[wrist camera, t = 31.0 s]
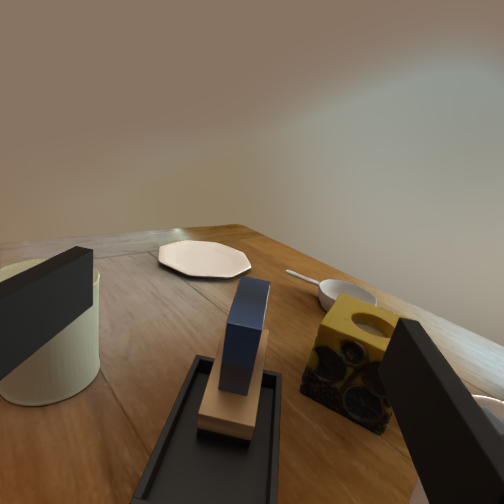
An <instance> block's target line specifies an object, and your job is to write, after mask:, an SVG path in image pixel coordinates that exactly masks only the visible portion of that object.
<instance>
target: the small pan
mask: <svg viewBox="0 0 504 504" xmlns="http://www.w3.org/2000/svg"><path fill="white" fill-rule="evenodd" d="M285 272H286V273H287V274H290V275H292V276H294V277H297V278H299V279H302V280H304V281H307V282H309V283H312V284H314V285H317V286H319V289H318V296H319V299H320V302H321V306H322V307H323V308H324V309H325V310H326V311H327V312H329V310H330V309H331V307H332V306H333V304H334V302H335V300H336V299H337V297H338V295H339V294H340V293H344V294H347V295H349V296H352V297H354V298H357V299H360V300H362V301H365V302H367V303H370V304H372V305H375V306H376V303H377V299H376V298H375V296H374V295H373V294H372V293H370V292H369V291H368V290H366V289H364V288H362V287H360V286H358V285H356V284H353V283H350V282H346V281H341V280H324V281H322V282H321V283H320V282H318V281H315V280H313V279H310V278H308V277H305V276H303V275H300V274H298V273H295V272H293V271H290V270H286V271H285Z"/></svg>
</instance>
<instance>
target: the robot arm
mask: <svg viewBox="0 0 504 504" xmlns="http://www.w3.org/2000/svg"><path fill="white" fill-rule="evenodd" d="M91 306H93V250H92V249H87V248H83V247H78V246H75V247H73V248H71V249H69V250H67V251H65V252H63V253H61V254H58V255H56V256H54V257H52V258H50V259H48V260H46V261H44V262H42V263H40V264H37V265H35V266H33V267H31V268H29V269H27V270H25V271H23V272H21V273H18V274H16V275H14V276H12V277H10V278H8V279H6V280H4V281H2V282H0V381H1V380H2V379H3V378H4V377H6V376H7V375H8V374H9V373H11V372H12V371H13V370H14V369H15V368H17V367H18V366H19V365H20V364H22V363H23V362H24V361H25V360H26V359H28V358H29V357H30V356H31V355H33V354H34V353H35V352H36V351H38V350H39V349H40V348H41V347H42V346H44V345H45V344H46V343H47V342H49V341H50V340H51V339H52V338H53V337H55V336H56V335H57V334H58V333H60V332H61V331H62V330H63V329H65V328H66V327H67V326H68V325H69V324H71V323H72V322H73V321H74V320H76V319H77V318H78V317H79V316H80V315H82V314H83V313H84V312H85V311H87V310H88V309H89V308H90V307H91ZM378 373H379V375H380V378H381V380H382V383H383V386H384V388H385V391H386V393H387V396H388V399H389V401H390V404H391V406H392V409H393V411H394V414H395V417H396V419H397V422H398V424H399V427H400V430H401V432H402V435H403V437H404V440H405V442H406V445H407V448H408V450H409V453H410V455H411V458H412V461H413V463H414V466H415V468H416V471H417V473H418V476H419V479H420V481H421V484H422V486H423V489H424V492H425V494H426V497H427V499H428V502H429V504H504V422H503V421H502V420H501V419H500V418H499V417H498V416H496V415H495V414H494V413H493V412H492V411H491V410H490V409H489V408H487V407H486V406H482V405H479V404H478V403H477V402H476V400H475V399H474V398H473V396H472V395H471V393H470V392H469V391H468V389H467V388H466V387H465V385H464V384H463V382H462V381H461V380H460V378H459V377H458V375H457V374H456V373H455V371H454V370H453V369H452V367H451V366H450V364H449V363H448V362H447V360H446V359H445V358H444V356H443V355H442V353H441V352H440V351H439V349H438V348H437V346H436V345H435V344H434V342H433V341H432V340H431V338H430V337H429V335H428V334H427V333H426V331H425V330H424V329H423V327H422V326H421V324H420V323H419V322H418V321H415V320H411V319H406V318H402V317H399V319H398V321H397V324H396V326H395V329H394V331H393V334H392V336H391V339H390V341H389V343H388V346H387V348H386V351H385V353H384V356H383V358H382V361H381V363H380V365H379V368H378Z"/></svg>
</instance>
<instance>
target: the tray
mask: <svg viewBox="0 0 504 504" xmlns="http://www.w3.org/2000/svg"><path fill="white" fill-rule="evenodd" d="M214 360H215V359H214V358H210V357H205V356H201V355H196V357H195V359H194V361H193V364H192V366H191V368H190V370H189V372H188V375H187V377H186V379H185V381H184V384H183V386H182V388H181V390H180V392H179V395H178V397H177V399H176V401H175V404H174V406H173V408H172V410H171V412H170V415H169V417H168V419H167V421H166V423H165V426H164V428H163V430H162V432H161V435H160V437H159V439H158V441H157V443H156V446H155V448H154V450H153V452H152V455H151V457H150V459H149V461H148V463H147V466H146V468H145V470H144V472H143V475H142V477H141V479H140V481H139V483H138V486H137V488H136V490H135V492H134V495H133V497H132V499H131V501H130V503H129V504H277V497H278V468H279V439H280V410H281V381H282V374H281V373H277V372H272V371H268V370H263V374H262V381H261V388H260V395H259V402H258V409H257V416H256V422H255V428H254V431H253V435H252V439H251V442H250V446H249V448H245V447H241V446H237V445H232V444H228V443H224V442H220V441H216V440H212V439H207V438H203V437H199V436H196V434H197V421H198V412H199V409H200V405H201V402H202V399H203V396H204V392H205V389H206V386H207V383H208V380H209V376H210V373H211V370H212V367H213V363H214Z"/></svg>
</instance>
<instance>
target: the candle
mask: <svg viewBox="0 0 504 504" xmlns="http://www.w3.org/2000/svg"><path fill="white" fill-rule="evenodd" d="M399 317H402V318H406V319H410V318H407V317H404V316H401V315H398V314H396V313H393V312H391V311H388V310H386V309H383V308H380V307H377V306H375V305H372V304H370V303H367V302H365V301H362V300H360V299H357V298H354V297H352V296H349V295H347V294H344V293H340V294H339V295H338V297H337V299H336V300H335V302H334V304H333V306H332V307H331V309H330V310H329V312H328V313H327V315H326V316H325V317H324V318H323V319H322V321H321V323H320V326H319V329H318V335H317V337H316V340H315V344H314V347H313V349H312V353H311V356H310V359H309V362H308V364H307V366H306V368H305V371H304V373H303V376H302V384H301V385H300V390H301V391H302V392H303V393H304V394H307V395H309V396H311V397H312V398H313V399H315V400H317V401H320V402H322V403H324V404H326V405H327V406H328V407H329V408H331V409H333V410H335V411H337V412H339V413H341V414H343V415H345V416H347V417H349V418H351V419H352V420H354V421H355V422H358V423H361V424H362V425H364V426H366V427H367V428H369V429H371V430H372V431H374V432H375V433H378V434H382V433H384V431H385V428H386V427H387V423H389V422H388V421H389V419H390V417H391V415H392V406H391V404H390V401H389V399H388V396H387V393H386V391H385V388H384V386H383V383H382V380H381V378H380V375H379V373H378V368H379V365H380V363H381V361H382V358H383V356H384V353H385V351H386V348H387V346H388V343H389V341H390V339H391V336H392V334H393V331H394V329H395V326H396V324H397V321H398V319H399ZM411 320H412V319H411Z"/></svg>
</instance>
